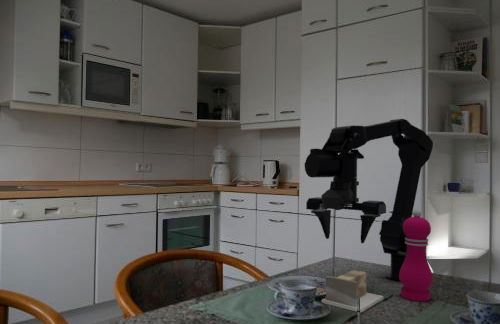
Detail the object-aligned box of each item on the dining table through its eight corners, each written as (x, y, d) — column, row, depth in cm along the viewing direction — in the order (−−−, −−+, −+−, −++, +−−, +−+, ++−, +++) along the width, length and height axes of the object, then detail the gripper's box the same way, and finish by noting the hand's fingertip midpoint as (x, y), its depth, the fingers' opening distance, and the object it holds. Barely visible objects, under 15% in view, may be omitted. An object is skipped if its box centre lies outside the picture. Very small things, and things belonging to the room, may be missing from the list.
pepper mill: (417, 304, 90) (419, 212, 90) (391, 294, 96) (393, 208, 96) (439, 299, 93) (441, 211, 93) (413, 290, 99) (415, 208, 100)
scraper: (345, 289, 97) (346, 268, 97) (374, 296, 92) (374, 273, 93) (325, 299, 89) (325, 276, 89) (355, 307, 85) (356, 282, 85)
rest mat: (346, 290, 98) (346, 288, 98) (383, 298, 93) (383, 296, 93) (321, 302, 89) (321, 299, 89) (360, 312, 83) (361, 309, 83)
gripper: (295, 176, 100) (294, 241, 100) (369, 179, 89) (369, 251, 89) (316, 176, 109) (316, 234, 109) (387, 178, 98) (386, 243, 98)
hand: (344, 240), depth 101 cm, fingers open, 9 cm apart
